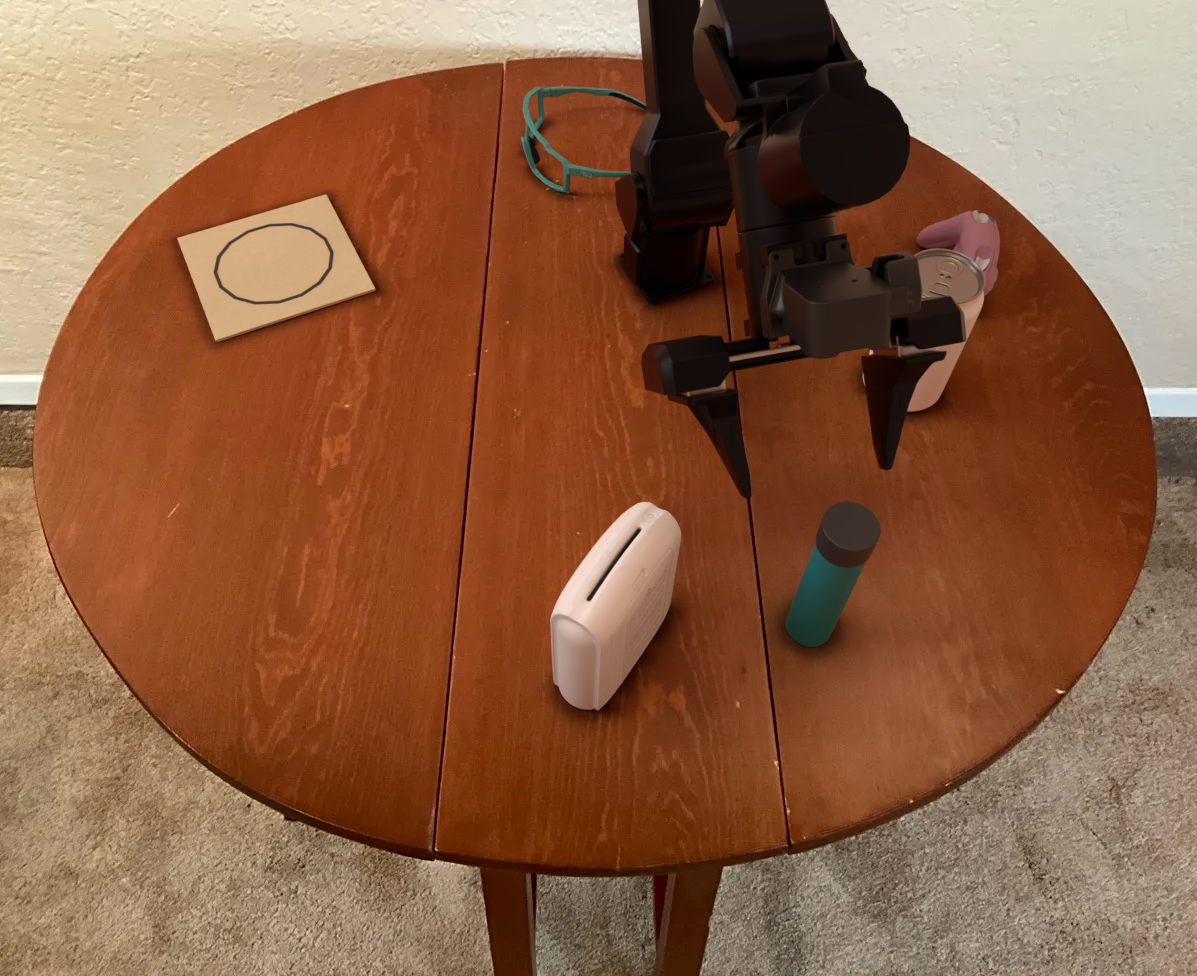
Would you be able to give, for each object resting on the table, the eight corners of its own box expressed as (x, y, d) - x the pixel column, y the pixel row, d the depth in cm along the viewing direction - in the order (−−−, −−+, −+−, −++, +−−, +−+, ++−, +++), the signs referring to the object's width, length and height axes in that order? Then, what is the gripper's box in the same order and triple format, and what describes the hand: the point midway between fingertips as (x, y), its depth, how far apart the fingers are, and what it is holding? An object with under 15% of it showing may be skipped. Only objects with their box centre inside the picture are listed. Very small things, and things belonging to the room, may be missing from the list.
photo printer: (626, 575, 69) (633, 475, 58) (678, 605, 67) (695, 508, 57) (544, 689, 64) (536, 602, 54) (598, 724, 62) (601, 641, 52)
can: (949, 370, 80) (1000, 260, 70) (930, 425, 77) (981, 318, 67) (873, 345, 81) (913, 234, 72) (851, 398, 78) (889, 289, 68)
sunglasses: (506, 119, 98) (508, 73, 94) (646, 112, 102) (653, 68, 98) (534, 207, 91) (537, 162, 87) (684, 197, 94) (694, 153, 90)
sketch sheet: (326, 196, 91) (326, 193, 91) (375, 290, 84) (375, 287, 84) (178, 240, 88) (176, 237, 88) (216, 342, 81) (215, 339, 81)
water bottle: (815, 596, 68) (858, 493, 57) (843, 636, 66) (892, 537, 55) (774, 615, 67) (810, 514, 56) (801, 656, 65) (843, 559, 55)
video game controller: (950, 334, 84) (1013, 286, 79) (909, 310, 83) (970, 260, 78) (950, 258, 90) (1009, 208, 84) (912, 234, 89) (969, 182, 83)
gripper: (667, 238, 48) (710, 540, 51) (1010, 184, 50) (1032, 474, 53) (622, 254, 59) (660, 502, 62) (907, 209, 61) (930, 449, 64)
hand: (816, 482), depth 60 cm, fingers open, 9 cm apart
